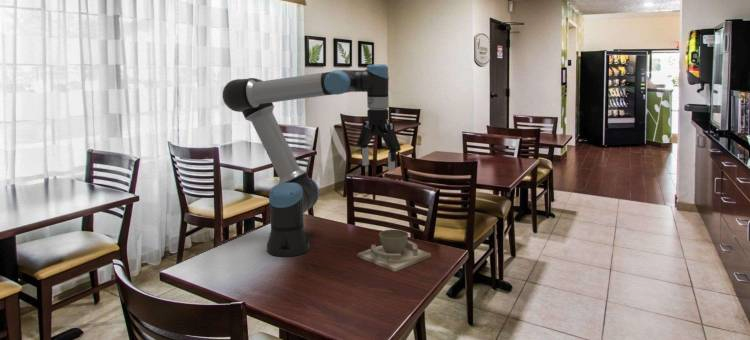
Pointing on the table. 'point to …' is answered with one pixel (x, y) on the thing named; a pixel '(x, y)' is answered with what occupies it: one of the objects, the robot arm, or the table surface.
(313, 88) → the robot arm
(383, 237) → the flower pot
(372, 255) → the holder
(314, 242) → the table surface
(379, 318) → the table surface
